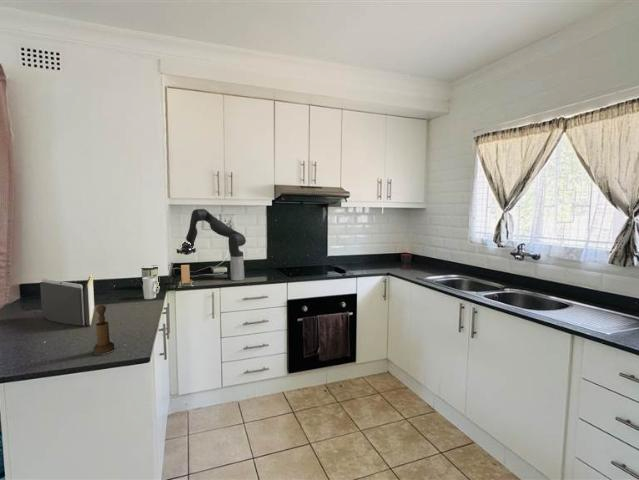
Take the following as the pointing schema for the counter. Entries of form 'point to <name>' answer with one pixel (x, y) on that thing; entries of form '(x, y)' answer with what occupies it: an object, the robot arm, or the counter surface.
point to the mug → (150, 287)
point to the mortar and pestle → (102, 333)
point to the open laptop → (67, 301)
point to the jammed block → (185, 274)
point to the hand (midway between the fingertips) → (185, 252)
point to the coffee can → (150, 273)
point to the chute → (190, 283)
